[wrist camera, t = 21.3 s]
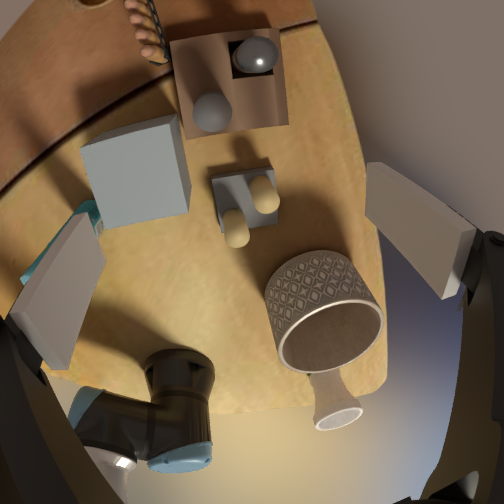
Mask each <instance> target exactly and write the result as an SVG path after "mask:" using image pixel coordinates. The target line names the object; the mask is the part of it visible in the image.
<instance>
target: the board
mask: <svg viewBox="0 0 504 504" xmlns="http://www.w3.org/2000/svg"><path fill="white" fill-rule="evenodd" d="M211 178H212V185H213V190H214V195H215V201H216V206H217V212H218V217H219V222H220V227H221V232H222V233H224V234H225V241H226V243H227V244H228V245H229V246H231V247H234V248H239V247H243V246H244V245H246V244H247V243H248V241H249V238H250V234H249V230H248V229H250V228H256V227H262V226H268V225H275V224H279V221H278V209H277V208H278V206H279V204H280V198H279V196H278V194H277V192H276V185H275V174H274V169H273V167H272V166H270V167H262V168H255V169H249V170H242V171H236V172H230V173H224V174H218V175H212V176H211Z"/></svg>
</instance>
